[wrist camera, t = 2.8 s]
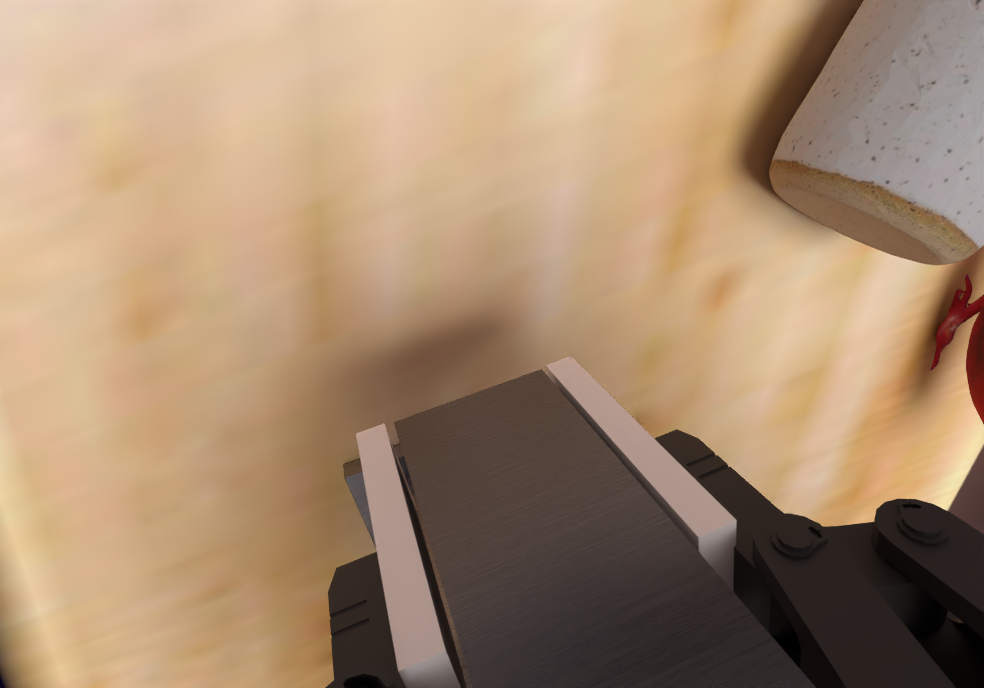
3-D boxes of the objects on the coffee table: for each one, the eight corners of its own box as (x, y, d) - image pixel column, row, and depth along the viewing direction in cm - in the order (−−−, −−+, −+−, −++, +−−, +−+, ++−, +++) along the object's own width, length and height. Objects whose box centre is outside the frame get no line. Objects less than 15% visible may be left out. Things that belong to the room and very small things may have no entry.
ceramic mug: (713, 169, 21) (915, 214, 14) (844, -65, 18) (1154, -140, 12) (865, 266, 25) (1067, 333, 19) (982, 91, 23) (1256, 98, 17)
